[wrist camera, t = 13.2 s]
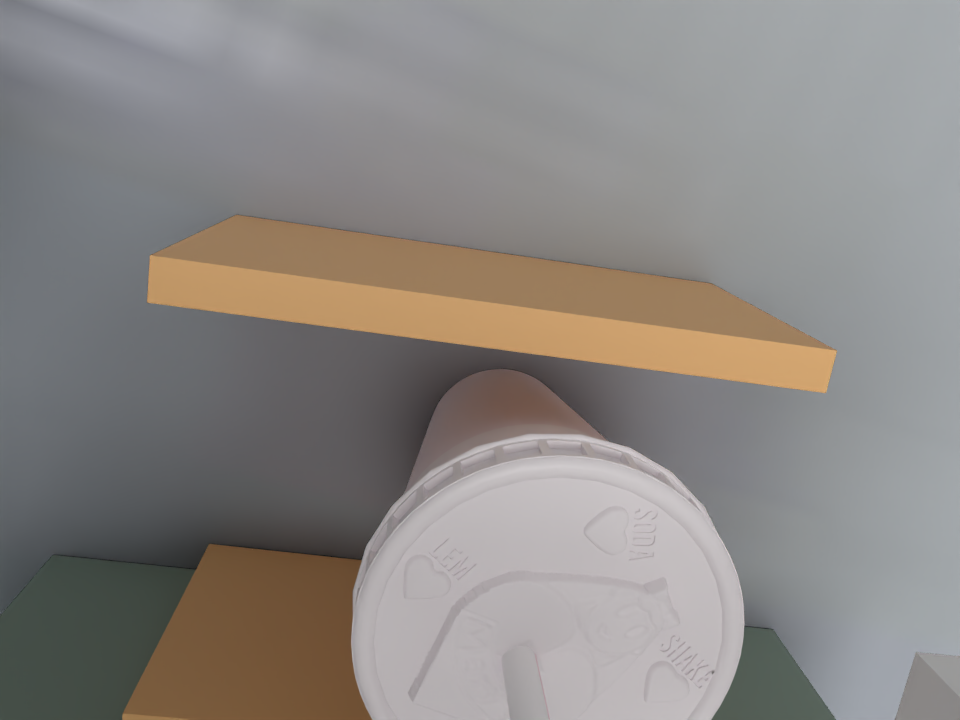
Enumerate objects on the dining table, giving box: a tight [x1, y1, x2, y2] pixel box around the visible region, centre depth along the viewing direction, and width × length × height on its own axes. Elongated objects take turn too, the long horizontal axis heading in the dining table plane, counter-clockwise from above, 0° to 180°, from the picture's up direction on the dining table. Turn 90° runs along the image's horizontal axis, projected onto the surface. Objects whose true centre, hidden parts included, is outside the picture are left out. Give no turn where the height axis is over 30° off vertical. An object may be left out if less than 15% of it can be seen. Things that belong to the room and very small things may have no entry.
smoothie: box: [351, 369, 745, 720], centre depth 16 cm, size 6×6×14 cm
